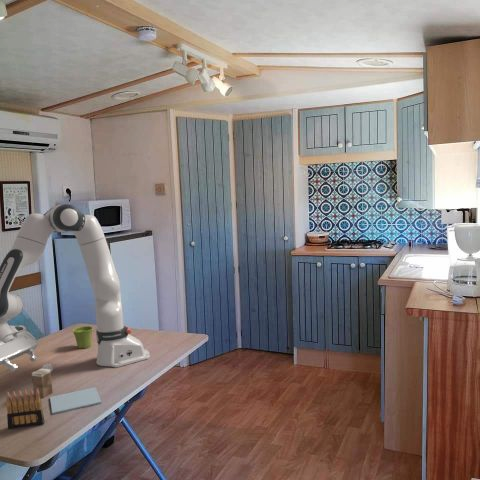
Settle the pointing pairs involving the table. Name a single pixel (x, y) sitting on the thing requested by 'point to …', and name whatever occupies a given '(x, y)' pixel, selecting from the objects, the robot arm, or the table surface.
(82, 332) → the plant pot
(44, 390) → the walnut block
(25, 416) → the ammunition clip
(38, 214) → the robot arm
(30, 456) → the table surface
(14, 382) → the table surface
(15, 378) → the table surface
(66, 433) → the table surface
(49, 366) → the game pieces
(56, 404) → the blue-grey mat
